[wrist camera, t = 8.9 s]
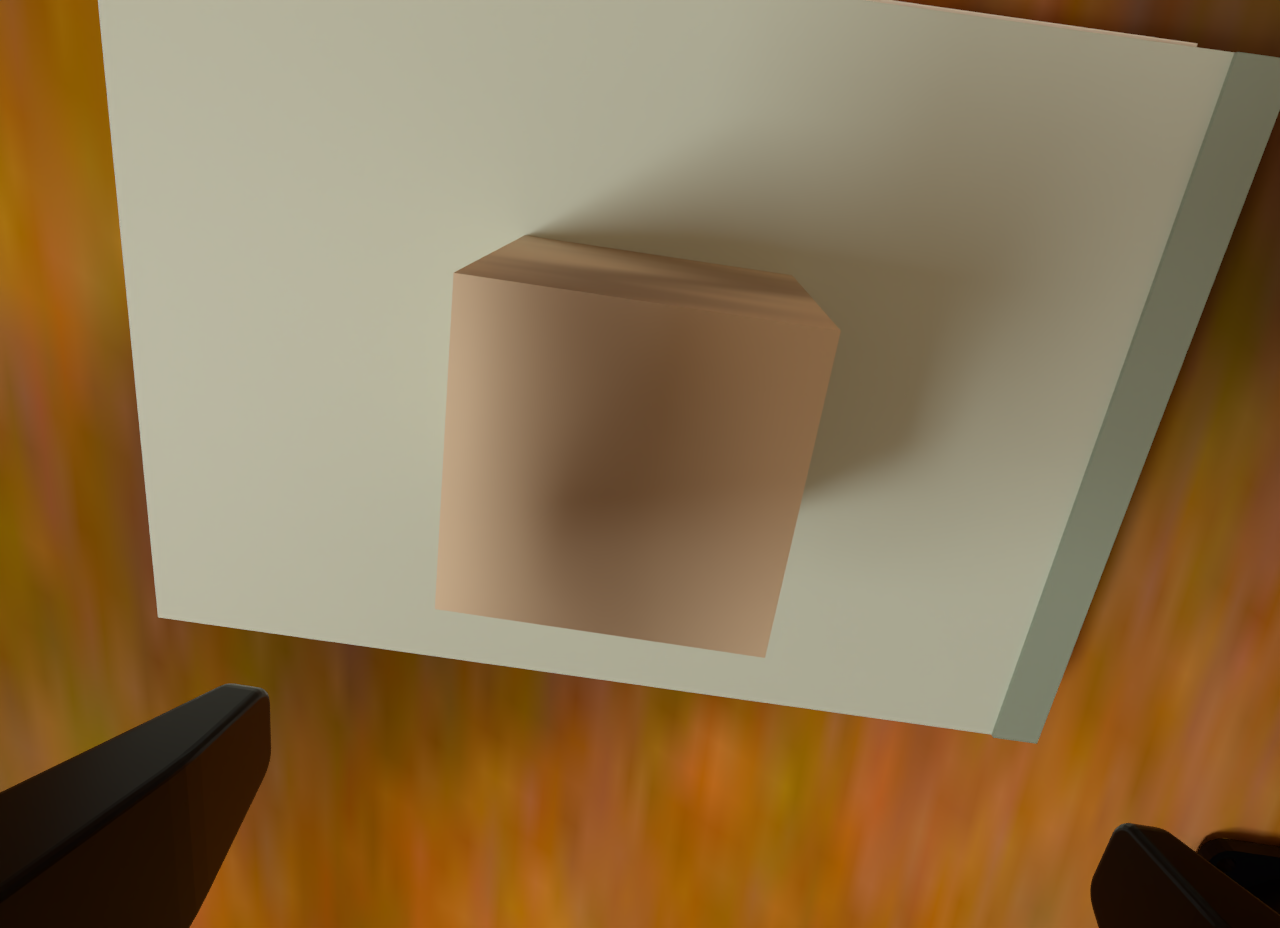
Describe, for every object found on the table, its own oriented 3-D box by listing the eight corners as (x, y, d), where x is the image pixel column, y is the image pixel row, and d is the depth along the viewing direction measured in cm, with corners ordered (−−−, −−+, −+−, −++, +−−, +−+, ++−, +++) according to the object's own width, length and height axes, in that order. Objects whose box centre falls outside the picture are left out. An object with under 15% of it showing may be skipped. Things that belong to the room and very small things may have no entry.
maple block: (792, 275, 15) (840, 330, 10) (742, 518, 17) (764, 658, 12) (524, 235, 15) (454, 272, 10) (503, 482, 17) (434, 608, 12)
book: (1206, 68, 16) (1301, 53, 13) (995, 674, 21) (1036, 743, 18) (175, -77, 16) (81, -119, 13) (216, 565, 21) (155, 619, 18)
